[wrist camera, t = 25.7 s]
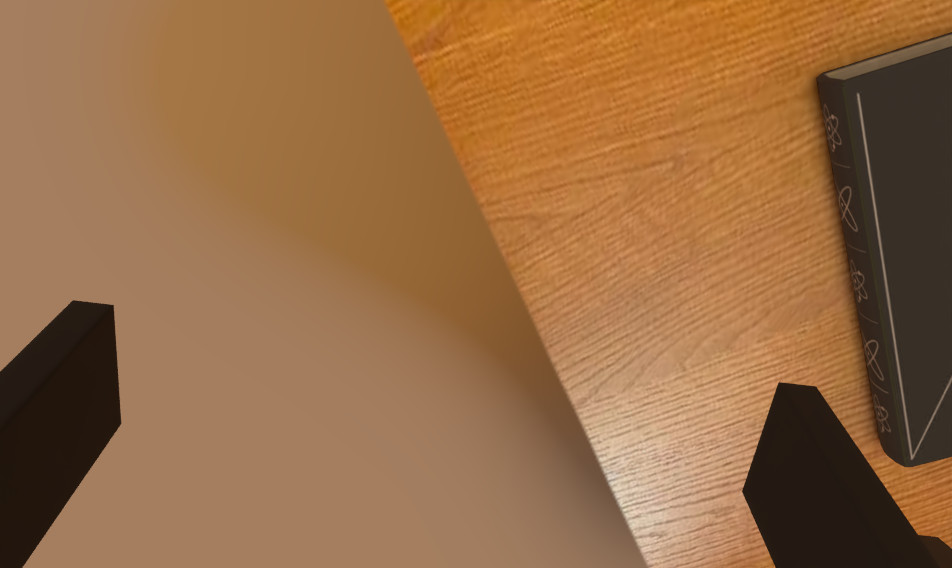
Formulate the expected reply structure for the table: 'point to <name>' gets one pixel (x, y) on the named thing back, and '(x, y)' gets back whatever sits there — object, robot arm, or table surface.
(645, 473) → the table surface
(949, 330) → the book
